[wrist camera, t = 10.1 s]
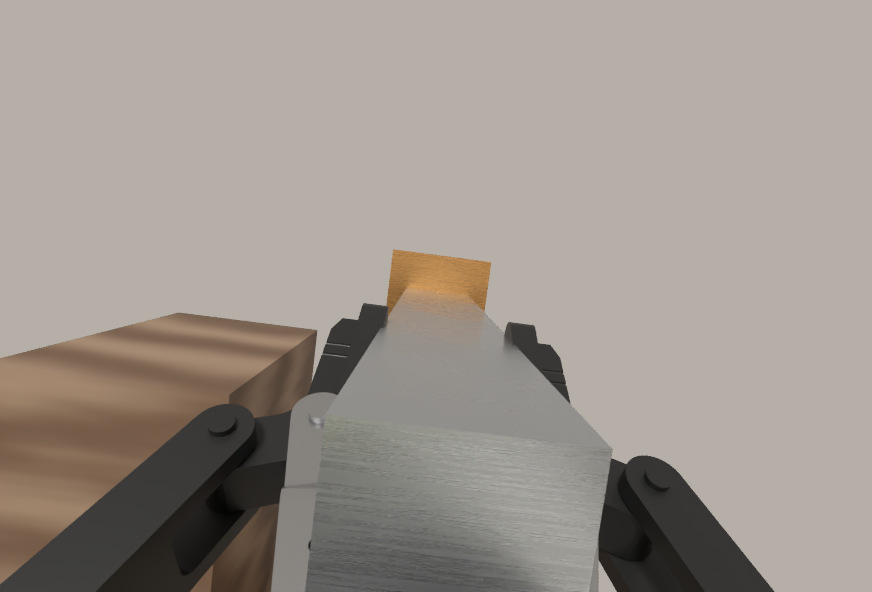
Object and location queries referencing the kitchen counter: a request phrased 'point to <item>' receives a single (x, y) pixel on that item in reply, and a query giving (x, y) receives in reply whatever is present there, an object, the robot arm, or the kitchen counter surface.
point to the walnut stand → (136, 423)
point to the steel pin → (453, 455)
